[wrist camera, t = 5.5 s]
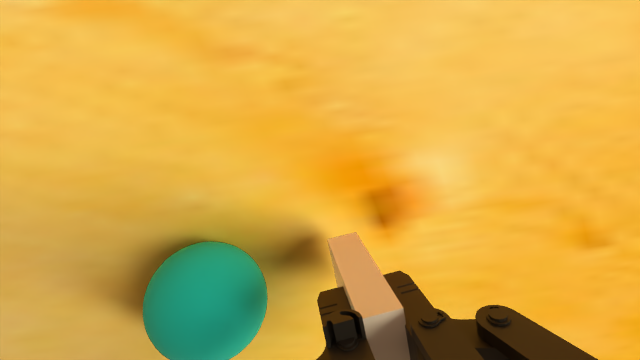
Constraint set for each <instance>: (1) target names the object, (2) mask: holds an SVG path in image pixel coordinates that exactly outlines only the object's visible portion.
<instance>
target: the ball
mask: <svg viewBox="0 0 640 360" xmlns="http://www.w3.org/2000/svg"><path fill="white" fill-rule="evenodd" d="M266 308H267V287H266V283H265V280H264V277H263V274H262V272H261V270H260V268H259V266H258V265H257V264H256V262H255V261H254V260H253V259H252V258H251V257H250V256H249V255H248V254H247V253H246V252H244V251H243V250H241V249H239V248H238V247H235V246H233V245H230V244H227V243H222V242H212V241H210V242H201V243H196V244H193V245H190V246H187V247H185V248H183V249H180V250H179V251H177V252H176V253H174V254H173V255H171V256H170V257H169V258H168V259H166V260H165V261H164V262H163V263H162V265H161V266H160V267H159V268H158V269H157V270H156V272H155V273H154V275H153V276H152V278H151V280H150V282H149V284H148V286H147V290H146V293H145V296H144V302H143V320H144V325H145V329H146V332H147V335H148V337H149V339H150V340H151V342H152V343H153V345H154V346H155V348H156V349H157V350H158V351H159V352H160V353H161V354H162V355H164V356H165V357H166V358H168V359H170V360H229V359H231V358H232V357H234V356H236V355H237V354H238V353H240V352H241V351H242V350H243V349H244V348H245V347H246V346H247V345H248V344H249V343H250V342H251V341H252V340H253V338H254V337H255V336H256V334H257V332H258V331H259V329H260V327H261V325H262V322H263V319H264V317H265V313H266Z"/></svg>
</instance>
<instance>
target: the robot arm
mask: <svg viewBox="0 0 640 360" xmlns="http://www.w3.org/2000/svg"><path fill="white" fill-rule="evenodd" d="M327 240H328V245H329V249H330V254H331V259H332V263H333V268H334V273H335V277H336V282H337V287H338V288H334V289H331V290H327V291H323V292H320V294H319V297H318V300H317V302H318V306H319V311H320V315H321V320H322V325H323V331H324V335H325V340H326V347H325V350H324V352H323V353H322V355H321V356H320V357H319V358H318V359H316V360H598V359H596V358H594V357H593V356H591V355H589V354H588V353H586V352H584V351H582V350H581V349H579V348H577V347H576V346H574V345H572V344H571V343H569V342H567V341H565V340H564V339H562V338H560V337H559V336H557V335H555V334H554V333H552V332H550V331H548V330H547V329H545V328H543V327H542V326H540V325H538V324H537V323H535V322H533V321H531V320H530V319H528V318H526V317H525V316H523V315H521V314H520V313H518V312H516V311H514V310H512V309H510V308H508V307H505V306H500V305H488V306H485V307H482V308H480V309H479V310H478V311H477V313H476V316H475V317H476V319H468V320H459V319H451V318H450V317H449V316H448V315H447V314H446V313H445V312H444V311H441V310H439V309H436V308H434V307H433V306H432V305H431V304H430V302H429V301H428V300H427V298H426V297H425V296H424V294H423V293H422V292H421V291H420V289H419V288H418V287H417V285H416V284H414V282H413V280H412V279H411V278H410V276H409V275H407V274H405V273H403V272H401V271H397V272H393V273H389V274H385V275H382V273H381V271H380V270H379V268H378V267H377V265H376V263H375V262H374V260H373V259H372V257H371V255H370V254H369V252H368V251H367V249H366V248H365V246H364V244H363V243H362V241H361V240H360V238H359V236H358V235H357V233H356V232H354V233H350V234H346V235H342V236H338V237H334V238H330V239H327Z"/></svg>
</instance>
